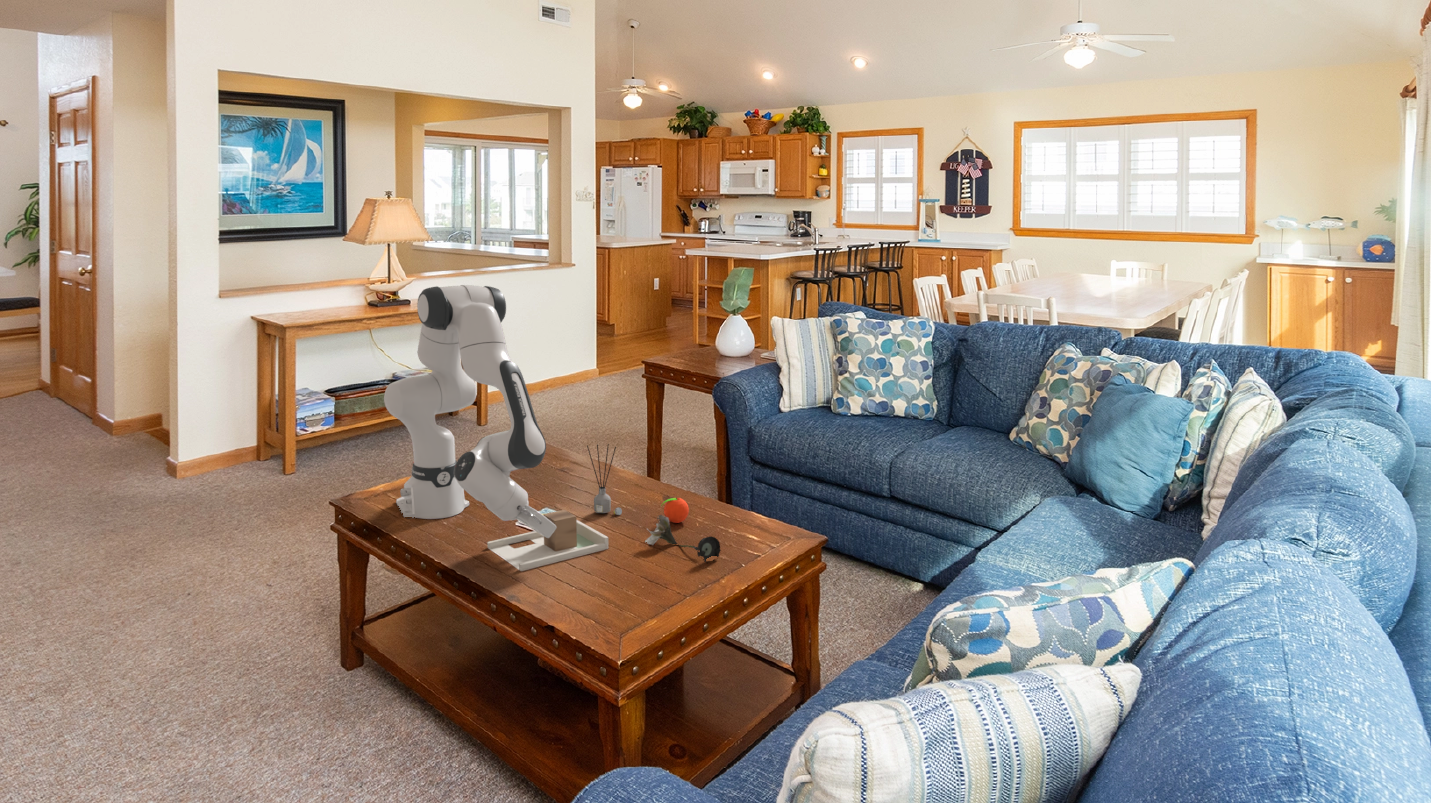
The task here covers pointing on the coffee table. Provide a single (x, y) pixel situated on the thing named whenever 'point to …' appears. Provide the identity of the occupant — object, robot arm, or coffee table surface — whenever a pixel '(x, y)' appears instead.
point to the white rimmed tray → (547, 548)
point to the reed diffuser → (603, 492)
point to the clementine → (676, 510)
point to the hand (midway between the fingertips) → (546, 531)
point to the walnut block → (562, 530)
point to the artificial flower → (706, 545)
